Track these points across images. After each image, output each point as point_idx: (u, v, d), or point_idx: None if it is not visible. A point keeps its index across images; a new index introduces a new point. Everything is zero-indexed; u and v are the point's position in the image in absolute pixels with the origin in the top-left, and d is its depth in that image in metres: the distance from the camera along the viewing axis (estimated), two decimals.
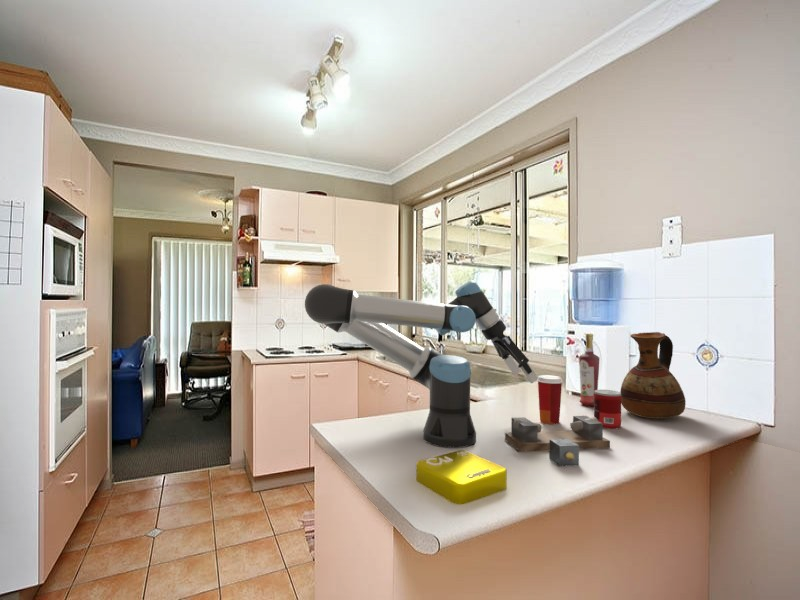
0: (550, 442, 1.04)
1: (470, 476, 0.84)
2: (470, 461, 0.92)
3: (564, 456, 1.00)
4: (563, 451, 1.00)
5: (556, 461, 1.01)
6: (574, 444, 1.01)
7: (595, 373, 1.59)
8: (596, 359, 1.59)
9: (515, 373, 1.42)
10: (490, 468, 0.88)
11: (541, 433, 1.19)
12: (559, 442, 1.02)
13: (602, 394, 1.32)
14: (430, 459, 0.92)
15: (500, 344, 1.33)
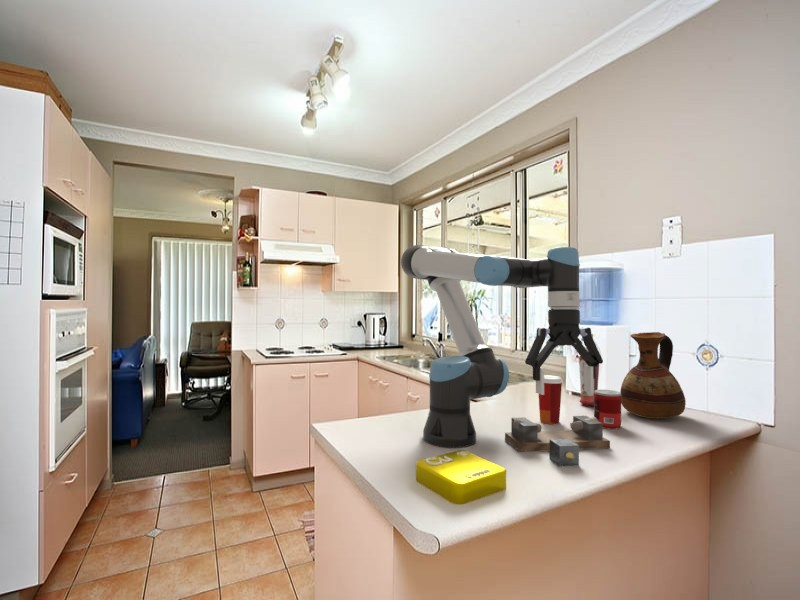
0: (550, 442, 1.04)
1: (469, 476, 0.84)
2: (469, 461, 0.92)
3: (564, 456, 1.00)
4: (563, 451, 1.00)
5: (556, 461, 1.01)
6: (574, 444, 1.01)
7: None
8: None
9: (585, 389, 1.06)
10: (489, 468, 0.88)
11: (541, 433, 1.19)
12: (559, 442, 1.02)
13: (602, 394, 1.32)
14: (430, 459, 0.92)
15: None
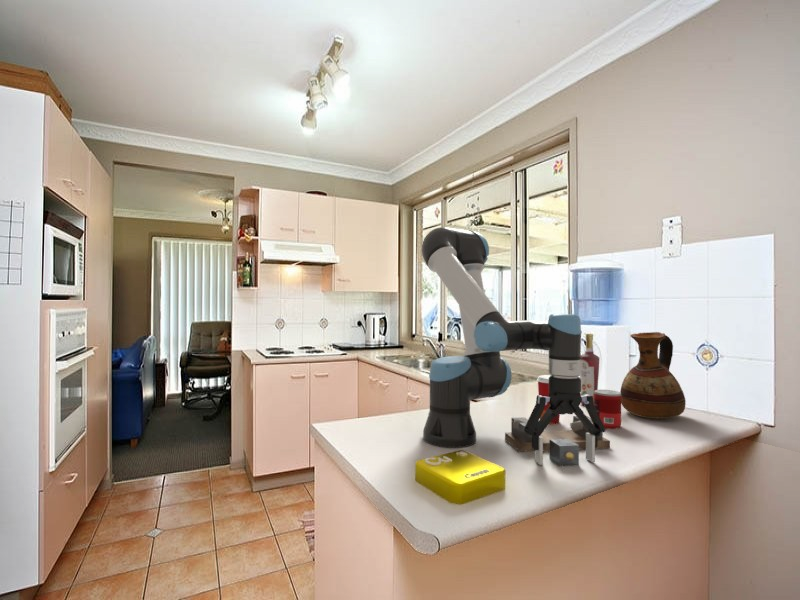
0: (550, 442, 1.04)
1: (468, 476, 0.84)
2: (468, 461, 0.92)
3: (564, 456, 1.00)
4: (563, 451, 1.00)
5: (556, 461, 1.01)
6: (574, 444, 1.01)
7: (595, 373, 1.59)
8: (596, 359, 1.59)
9: (587, 457, 1.04)
10: (489, 468, 0.88)
11: None
12: (559, 442, 1.02)
13: (602, 394, 1.32)
14: (429, 459, 0.92)
15: None
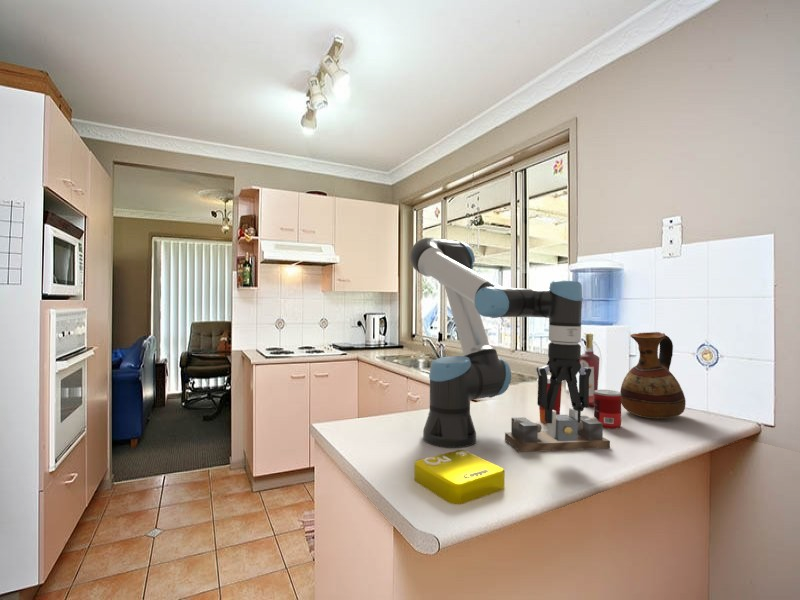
0: None
1: (467, 476, 0.84)
2: (468, 461, 0.92)
3: (562, 430, 1.00)
4: (562, 425, 1.00)
5: None
6: (573, 419, 1.02)
7: (595, 373, 1.59)
8: (596, 359, 1.59)
9: None
10: (488, 468, 0.88)
11: (541, 433, 1.19)
12: (558, 417, 1.03)
13: (602, 394, 1.32)
14: (428, 459, 0.92)
15: None
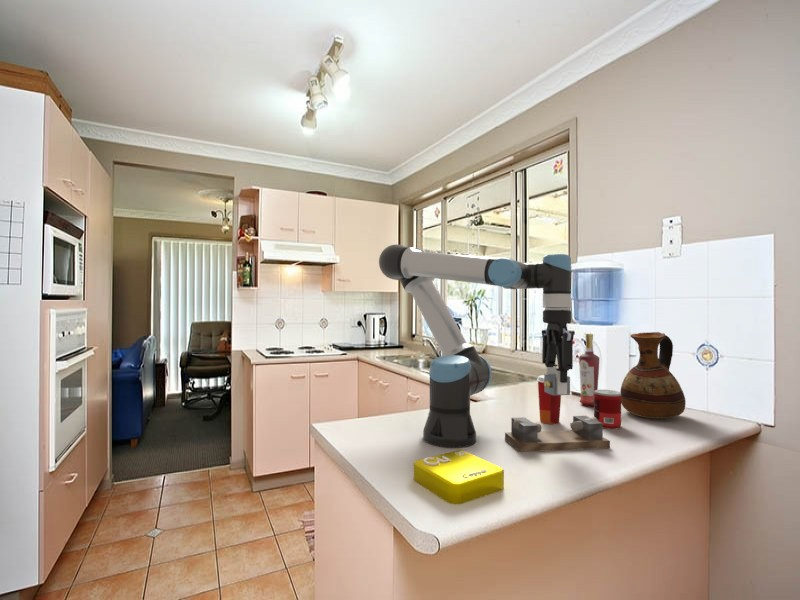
0: (555, 378, 1.14)
1: (466, 476, 0.84)
2: (467, 461, 0.92)
3: None
4: None
5: None
6: None
7: (595, 373, 1.59)
8: (596, 359, 1.59)
9: None
10: (487, 468, 0.88)
11: (541, 433, 1.19)
12: None
13: (602, 394, 1.32)
14: (427, 459, 0.93)
15: (555, 335, 1.14)
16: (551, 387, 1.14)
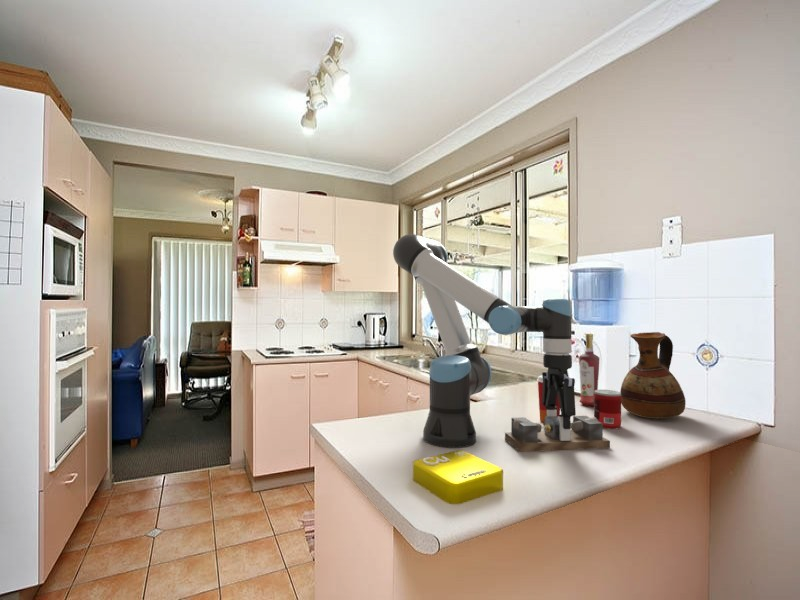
0: (556, 423, 1.13)
1: (465, 476, 0.84)
2: (466, 461, 0.92)
3: None
4: None
5: None
6: None
7: (595, 373, 1.59)
8: (596, 359, 1.59)
9: None
10: (486, 468, 0.88)
11: (541, 433, 1.19)
12: None
13: (602, 394, 1.32)
14: (427, 458, 0.93)
15: (556, 380, 1.14)
16: (552, 431, 1.14)
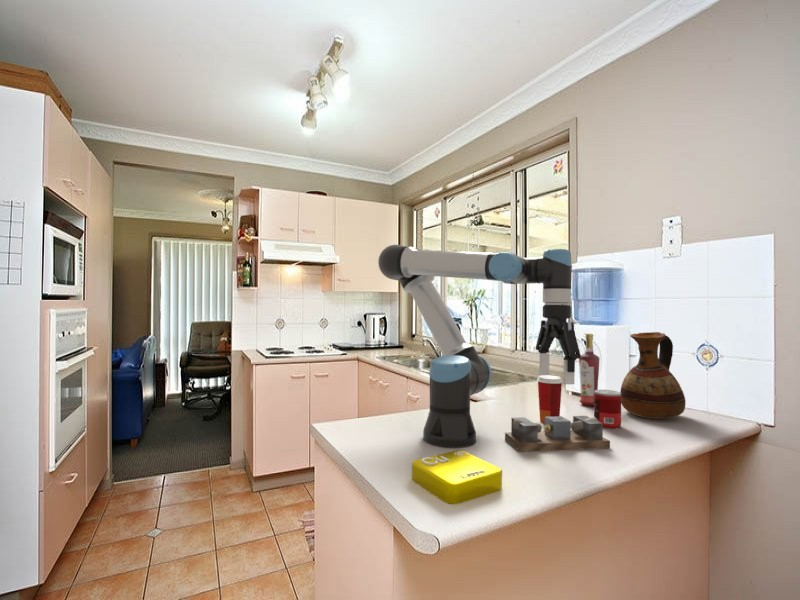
0: (556, 423, 1.13)
1: (464, 476, 0.84)
2: (465, 461, 0.92)
3: None
4: None
5: (565, 436, 1.14)
6: (560, 417, 1.18)
7: (595, 373, 1.59)
8: (596, 359, 1.59)
9: (542, 373, 1.23)
10: (485, 469, 0.88)
11: (541, 433, 1.19)
12: (560, 420, 1.15)
13: (602, 394, 1.32)
14: (426, 458, 0.93)
15: (555, 328, 1.14)
16: (552, 431, 1.14)
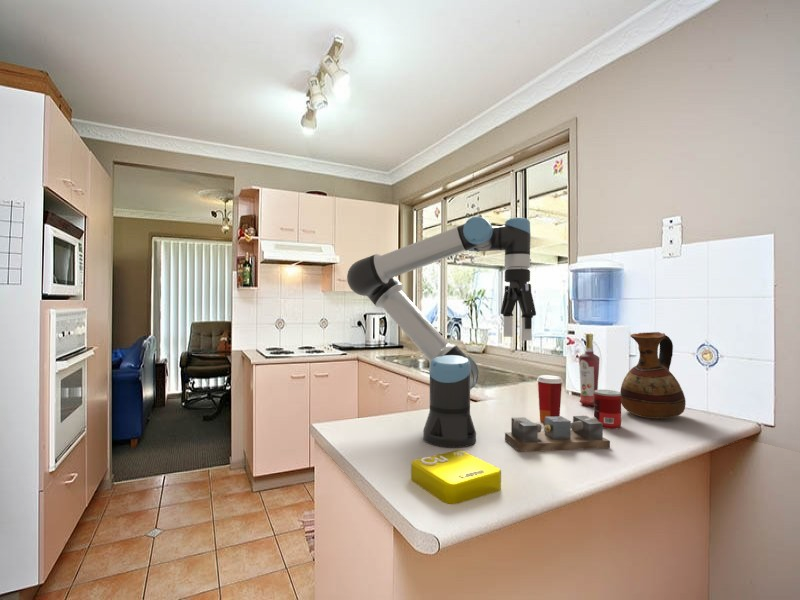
0: (556, 423, 1.13)
1: (463, 476, 0.84)
2: (465, 462, 0.92)
3: None
4: None
5: (565, 436, 1.14)
6: (560, 417, 1.18)
7: (595, 373, 1.59)
8: (596, 359, 1.59)
9: (506, 335, 1.33)
10: (484, 469, 0.88)
11: (541, 433, 1.19)
12: (560, 420, 1.15)
13: (602, 394, 1.32)
14: (425, 458, 0.93)
15: (515, 290, 1.24)
16: (552, 431, 1.14)
